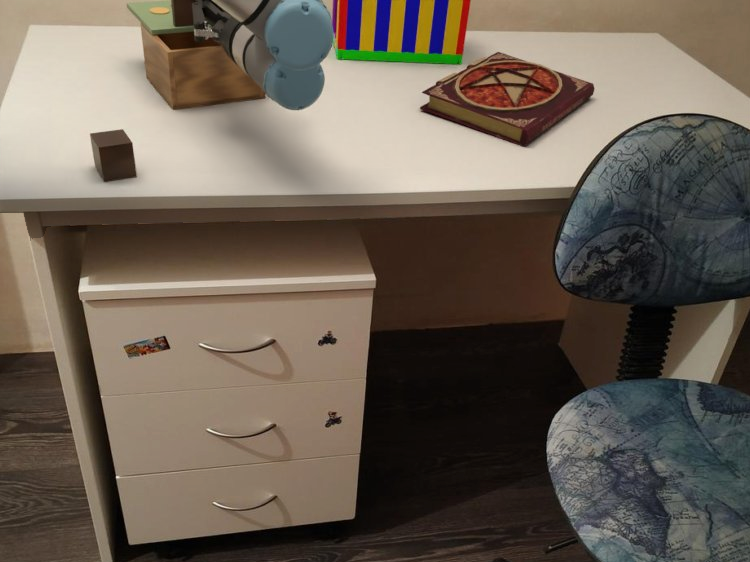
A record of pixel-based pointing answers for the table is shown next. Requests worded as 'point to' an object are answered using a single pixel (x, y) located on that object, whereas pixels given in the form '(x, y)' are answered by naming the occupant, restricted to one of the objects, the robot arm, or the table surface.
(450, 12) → the toy house
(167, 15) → the lid
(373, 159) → the table surface
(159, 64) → the wooden open box
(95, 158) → the block
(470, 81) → the book
